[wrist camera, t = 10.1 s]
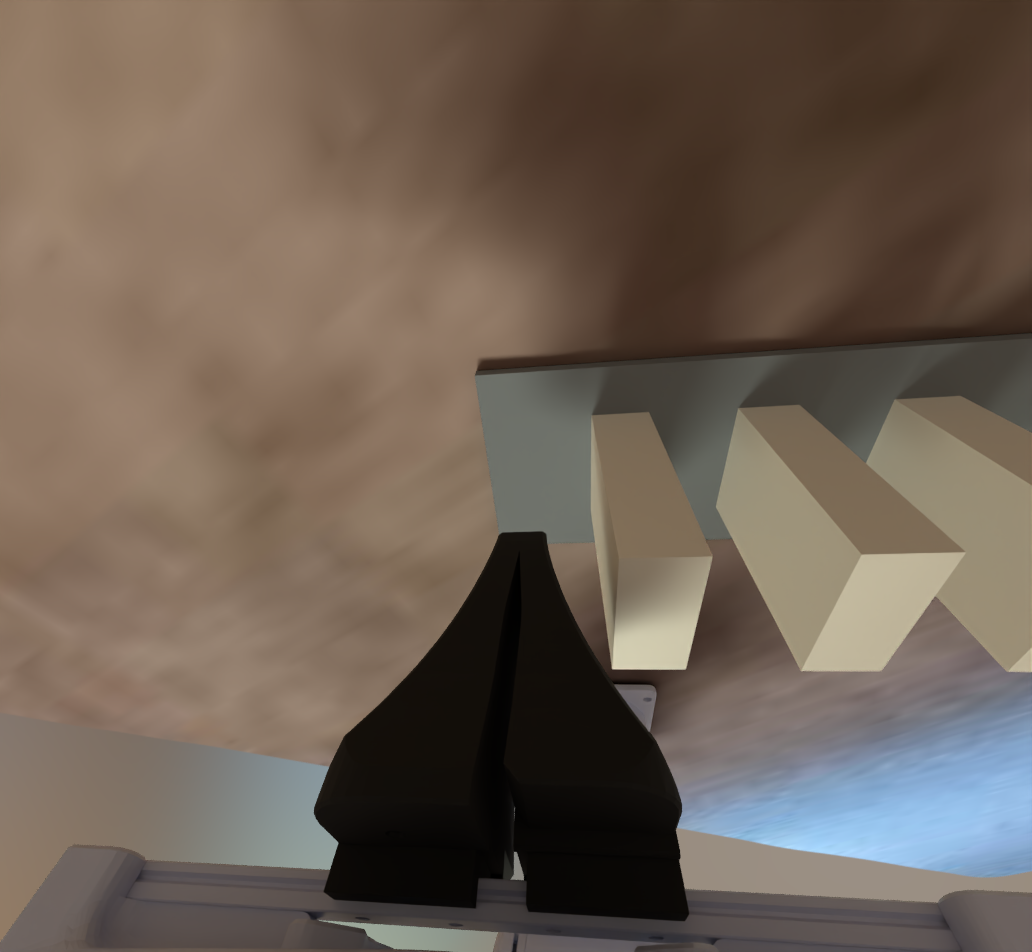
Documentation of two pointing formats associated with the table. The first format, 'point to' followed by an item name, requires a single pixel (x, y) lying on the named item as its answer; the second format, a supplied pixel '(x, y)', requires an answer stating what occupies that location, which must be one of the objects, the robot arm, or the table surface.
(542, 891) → the robot arm
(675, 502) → the domino
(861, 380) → the mat
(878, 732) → the table surface
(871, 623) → the domino
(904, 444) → the domino
